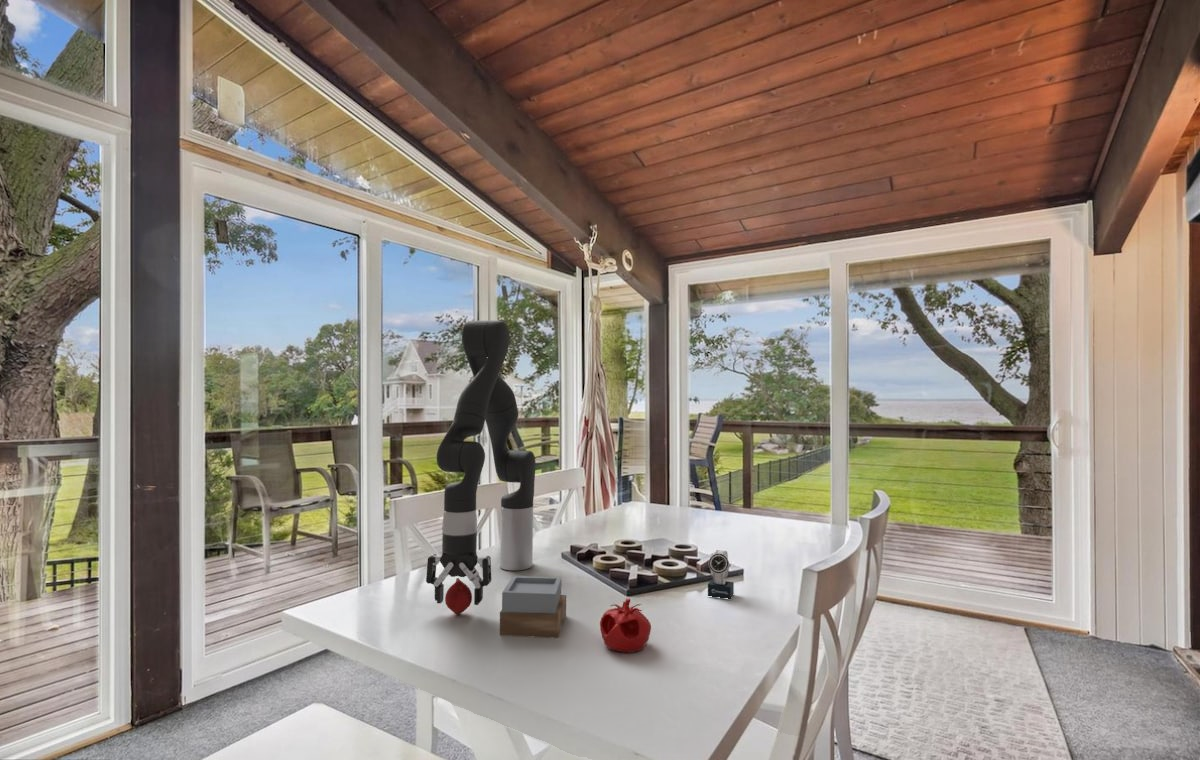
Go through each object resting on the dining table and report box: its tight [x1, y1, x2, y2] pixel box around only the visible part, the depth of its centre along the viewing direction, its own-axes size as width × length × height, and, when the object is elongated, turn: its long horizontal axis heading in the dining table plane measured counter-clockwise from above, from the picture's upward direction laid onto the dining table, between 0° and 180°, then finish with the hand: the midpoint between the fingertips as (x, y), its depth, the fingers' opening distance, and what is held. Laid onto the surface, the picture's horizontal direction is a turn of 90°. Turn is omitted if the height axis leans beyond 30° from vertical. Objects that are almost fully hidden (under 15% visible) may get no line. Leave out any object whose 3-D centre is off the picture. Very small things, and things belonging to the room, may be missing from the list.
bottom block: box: [499, 594, 567, 639], centre depth 126 cm, size 12×12×5 cm
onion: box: [444, 577, 473, 616], centre depth 131 cm, size 6×6×8 cm
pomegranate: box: [599, 598, 652, 653], centre depth 116 cm, size 10×10×9 cm
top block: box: [501, 575, 562, 614], centre depth 126 cm, size 11×11×4 cm
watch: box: [707, 549, 735, 600], centre depth 146 cm, size 6×8×11 cm
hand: (458, 603), depth 131 cm, fingers open, 8 cm apart
